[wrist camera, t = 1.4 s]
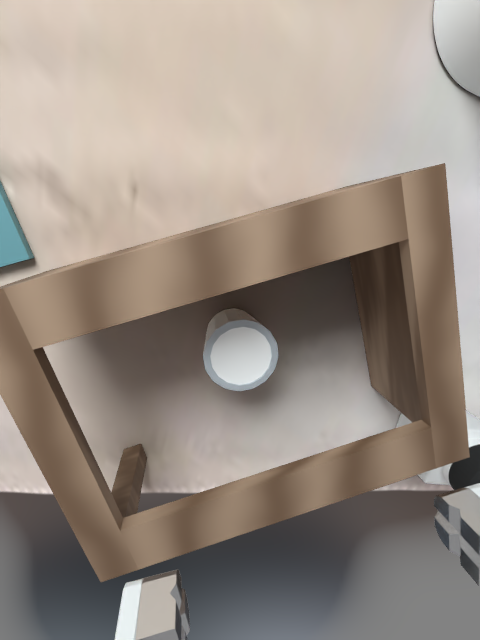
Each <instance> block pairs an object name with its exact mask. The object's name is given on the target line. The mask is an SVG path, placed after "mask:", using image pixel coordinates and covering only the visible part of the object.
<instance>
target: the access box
mask: <svg viewBox="0 0 480 640" xmlns="http://www.w3.org/2000/svg"><path fill="white" fill-rule="evenodd" d="M345 257H349V259H350V265H351V271H352V276H353V282H354V288H355V294H356V300H357V305H358V311H359V317H360V323H361V329H362V334H363V340H364V346H365V352H366V358H367V363H368V369H369V375H370V381H371V386H372V387H373V388H374V389H375V390H376V391H378V392H379V393H380V394H381V395H382V396H383V397H384V398H385V399H387V400H388V401H389V402H390V403H391V404H392V405H393V406H394V407H396V408H397V409H398V410H399V411H400V412H401V413H402V414H403V415H404V416H406V417H407V418H408V419H409V420H410V421H411V422H412V423H410V424H407V425H404V426H401V427H398V428H395V429H392V430H389V431H386V432H383V433H380V434H376V435H373V436H370V437H367V438H364V439H361V440H358V441H355V442H352V443H349V444H346V445H343V446H340V447H337V448H334V449H331V450H328V451H325V452H322V453H319V454H316V455H313V456H310V457H307V458H304V459H301V460H298V461H295V462H291V463H288V464H285V465H282V466H279V467H276V468H273V469H270V470H267V471H264V472H261V473H258V474H255V475H252V476H249V477H246V478H243V479H240V480H237V481H234V482H231V483H228V484H225V485H222V486H219V487H216V488H213V489H210V490H207V491H203V492H200V493H197V494H194V495H192V496H188V497H185V498H182V499H179V500H176V501H173V502H170V503H167V504H164V505H161V506H158V507H155V508H152V509H149V510H146V511H143V512H140V513H137V510H138V504H139V499H140V494H141V488H142V482H143V477H144V471H145V466H146V460H147V457H146V455H145V452H144V450H143V447H142V445H141V444H139V445H136V446H132V447H129V448H126V449H124V451H123V454H122V457H121V461H120V464H119V468H118V471H117V475H116V478H115V482H114V485H113V489H112V492H111V491H110V489H109V487H108V485H107V483H106V481H105V479H104V477H103V474H102V472H101V470H100V468H99V466H98V464H97V462H96V460H95V458H94V455H93V453H92V451H91V449H90V447H89V445H88V443H87V441H86V438H85V436H84V434H83V432H82V430H81V428H80V426H79V424H78V421H77V419H76V417H75V415H74V413H73V411H72V409H71V407H70V405H69V402H68V400H67V398H66V396H65V394H64V392H63V390H62V388H61V385H60V383H59V381H58V379H57V377H56V375H55V373H54V371H53V368H52V366H51V364H50V362H49V360H48V358H47V356H46V354H45V351H44V349H43V347H44V346H47V345H51V344H54V343H58V342H61V341H64V340H68V339H71V338H75V337H78V336H81V335H85V334H88V333H92V332H95V331H98V330H102V329H105V328H108V327H112V326H115V325H119V324H122V323H125V322H129V321H132V320H136V319H139V318H142V317H146V316H149V315H152V314H156V313H159V312H163V311H166V310H169V309H173V308H176V307H180V306H183V305H186V304H190V303H193V302H196V301H200V300H203V299H207V298H210V297H213V296H217V295H220V294H224V293H227V292H230V291H234V290H237V289H240V288H244V287H247V286H251V285H254V284H257V283H261V282H264V281H268V280H271V279H274V278H278V277H281V276H285V275H288V274H291V273H295V272H298V271H301V270H305V269H308V268H312V267H315V266H318V265H322V264H325V263H329V262H332V261H335V260H339V259H342V258H345ZM0 395H1V397H2V398H3V400H4V402H5V404H6V406H7V408H8V410H9V412H10V413H11V415H12V417H13V419H14V421H15V423H16V425H17V427H18V428H19V430H20V432H21V434H22V436H23V438H24V440H25V442H26V443H27V445H28V447H29V449H30V451H31V453H32V455H33V457H34V458H35V460H36V462H37V464H38V466H39V468H40V470H41V471H42V473H43V475H44V477H45V479H46V481H47V483H48V485H49V486H50V488H51V490H52V492H53V494H54V496H55V497H56V500H57V501H58V503H59V505H60V507H61V509H62V511H63V513H64V514H65V516H66V518H67V520H68V522H69V524H70V525H71V527H72V529H73V531H74V533H75V535H76V537H77V539H78V541H79V542H80V544H81V546H82V548H83V550H84V552H85V554H86V556H87V558H88V559H89V561H90V563H91V565H92V567H93V569H94V570H95V573H96V574H97V576H98V578H99V580H100V582H103V581H106V580H109V579H112V578H115V577H118V576H121V575H124V574H127V573H129V572H133V571H136V570H139V569H141V568H144V567H147V566H150V565H153V564H156V563H159V562H162V561H165V560H168V559H171V558H174V557H176V556H180V555H182V554H186V553H189V552H191V551H194V550H197V549H200V548H203V547H206V546H209V545H212V544H215V543H218V542H221V541H224V540H227V539H229V538H233V537H235V536H239V535H241V534H245V533H248V532H250V531H253V530H256V529H259V528H262V527H265V526H268V525H271V524H274V523H277V522H280V521H283V520H286V519H289V518H291V517H295V516H297V515H301V514H303V513H306V512H309V511H312V510H315V509H318V508H321V507H324V506H327V505H330V504H333V503H336V502H339V501H342V500H345V499H348V498H351V497H353V496H356V495H359V494H362V493H365V492H368V491H371V490H374V489H377V488H380V487H383V486H386V485H389V484H392V483H395V482H398V481H401V480H404V479H407V478H410V477H412V476H415V475H418V474H421V473H424V472H427V471H430V470H433V469H436V468H439V467H442V466H445V465H448V464H451V463H454V462H457V461H460V460H463V459H466V458H468V457H470V455H469V443H468V431H467V419H466V407H465V395H464V383H463V371H462V359H461V347H460V335H459V323H458V311H457V299H456V287H455V275H454V263H453V251H452V239H451V227H450V215H449V204H448V192H447V180H446V168H445V163H444V164H440V165H435V166H431V167H427V168H423V169H419V170H414V171H410V172H406V173H402V174H397V175H393V176H389V177H385V178H381V179H376V180H372V181H368V182H364V183H359V184H355V185H351V186H347V187H343V188H340V189H336V190H333V191H329V192H326V193H322V194H319V195H315V196H312V197H308V198H304V199H301V200H297V201H294V202H290V203H287V204H283V205H280V206H276V207H273V208H269V209H266V210H262V211H258V212H255V213H251V214H248V215H244V216H241V217H237V218H234V219H230V220H227V221H223V222H220V223H216V224H212V225H209V226H205V227H202V228H198V229H195V230H191V231H188V232H184V233H181V234H177V235H173V236H170V237H166V238H163V239H159V240H156V241H152V242H149V243H145V244H142V245H138V246H135V247H131V248H127V249H124V250H120V251H117V252H113V253H110V254H106V255H103V256H99V257H96V258H92V259H88V260H85V261H81V262H78V263H74V264H71V265H67V266H64V267H60V268H57V269H53V270H50V271H46V272H43V273H40V274H37V275H34V276H31V277H28V278H25V279H22V280H19V281H16V282H13V283H10V284H7V285H4V286H1V287H0Z"/></svg>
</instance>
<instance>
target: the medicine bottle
mask: <svg viewBox="0 0 480 640" xmlns="http://www.w3.org/2000/svg"><path fill="white" fill-rule="evenodd" d="M466 419H467V431H468V443H469V455H470V457H468V458H466V459H463V460H460V461H457V462H454V463H451V464H448V465H445V466H442V467H439V468H436V469H433V470H430V471H427V472H424V473H421V474H418V476H419V478H420V479H421V480H422V481H423V482H424V483H428V484H439V485H450V486H451V487H452V488H453V489H454V490H457V489H460V488H465V487H468V486H471V485H475V484H478V483H480V419H479V418H477V417H476V416H474V415H473V414H471V413H470V412H468V411H467V410H466ZM410 423H412V422H411V421H410V420H409V419H408V418H407V417H406V416H404V415H403V414H402V413H401V414H400V417H399V420H398V423H397V426H396V428H398V427H401V426H404V425H407V424H410Z"/></svg>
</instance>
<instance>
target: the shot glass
mask: <svg viewBox="0 0 480 640" xmlns="http://www.w3.org/2000/svg"><path fill="white" fill-rule="evenodd" d="M278 357H279V356H278V347H277V342H276V340H275V339H274V337H273V335H272V334H271V332H270V331H269V330H268V329H267V328H266V327H264V326H263V325H262V324H261V323H259V322H258V321H257V320H256V319H255V318H253V317H252V316H251V315H249V314H248V313H247V312H245V311H244V310H240V309H235V308H232V309H226V310H223V311H221V312H219V313H218V314H216V315H215V316H214V317H213V318H212V320H211V321H210V322H209V324H208V328H207V332H206V338H205V345H204V352H203V360H204V365H205V370H206V372H207V373H208V375H209V376H210V378H211V379H212V381H213V382H215V383H216V384H218V385H220V386H221V387H223V388H224V389H229V390H234V391H244V390H249V389H253V388H255V387H257V386H259V385H260V384H262V383H264V382H265V381H266V380H267V379H268V378H269V376H270V375H271V374H272V373H273V371H274V370H275V367H276V363H277V360H278Z"/></svg>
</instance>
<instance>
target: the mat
mask: <svg viewBox="0 0 480 640" xmlns="http://www.w3.org/2000/svg"><path fill="white" fill-rule="evenodd" d="M31 258H34V256H33V254H32V251H31V249H30V247H29V245H28V242H27V240H26V238H25V236H24V233H23V231H22V229H21V227H20V224H19V222H18V220H17V218H16V215H15V213H14V211H13V209H12V206H11V204H10V202H9V200H8V197H7V195H6V193H5V190H4V188H3V186H2V184H1V181H0V267H3V266H6V265H10V264H14V263H17V262H21V261H24V260H28V259H31Z"/></svg>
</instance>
